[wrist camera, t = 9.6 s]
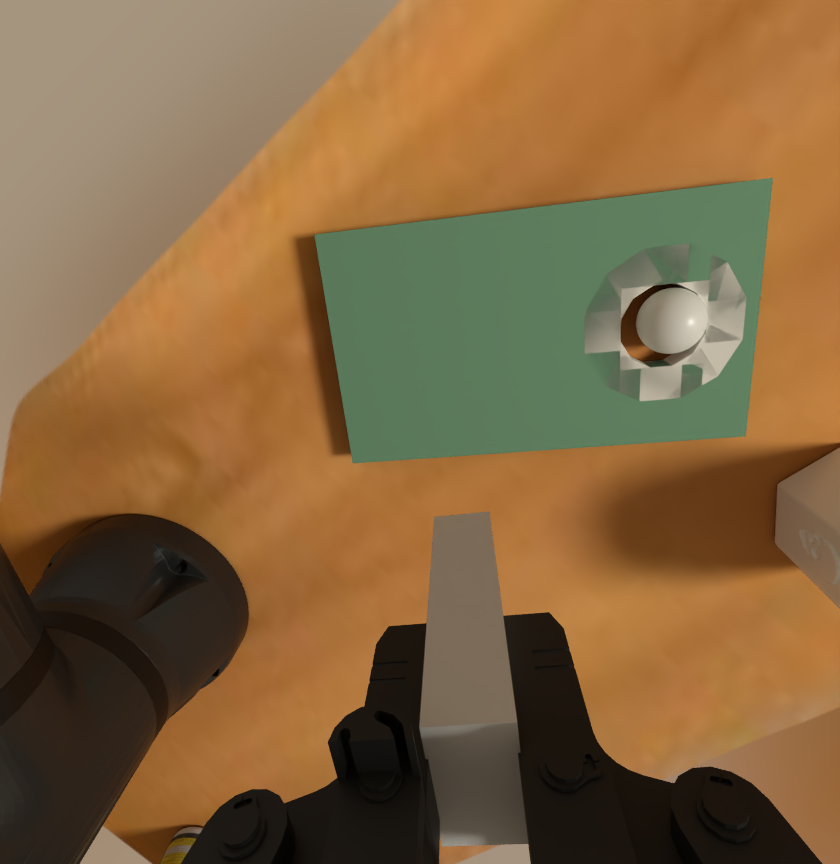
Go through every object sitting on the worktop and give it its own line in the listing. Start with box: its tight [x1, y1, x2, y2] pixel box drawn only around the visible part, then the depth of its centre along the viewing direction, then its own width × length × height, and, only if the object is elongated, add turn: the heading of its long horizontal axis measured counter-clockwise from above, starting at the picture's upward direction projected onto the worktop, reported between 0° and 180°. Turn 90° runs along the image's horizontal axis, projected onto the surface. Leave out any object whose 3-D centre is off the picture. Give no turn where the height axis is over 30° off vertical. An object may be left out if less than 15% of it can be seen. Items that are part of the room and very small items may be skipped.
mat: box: [314, 178, 773, 463], centre depth 31 cm, size 24×14×2 cm, turn 96°
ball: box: [636, 288, 708, 354], centre depth 29 cm, size 4×4×4 cm
